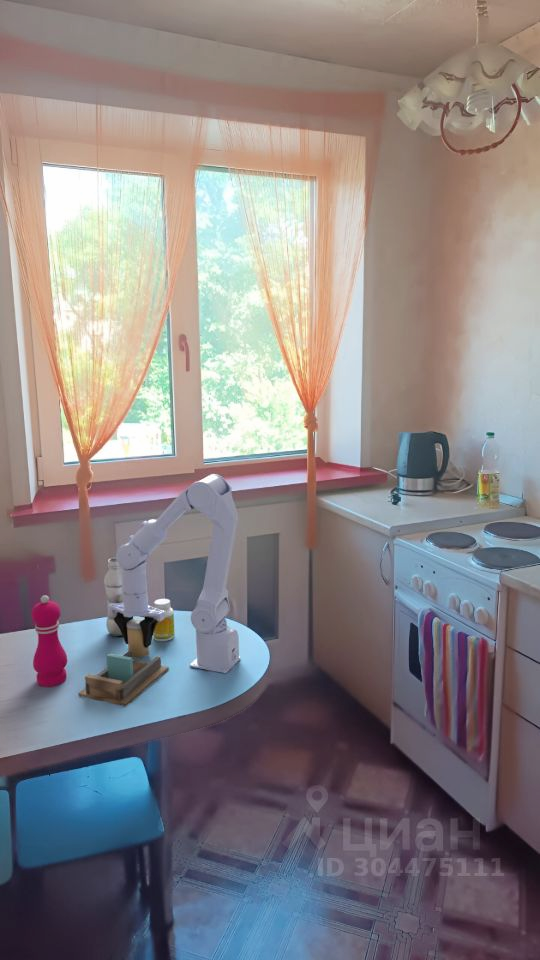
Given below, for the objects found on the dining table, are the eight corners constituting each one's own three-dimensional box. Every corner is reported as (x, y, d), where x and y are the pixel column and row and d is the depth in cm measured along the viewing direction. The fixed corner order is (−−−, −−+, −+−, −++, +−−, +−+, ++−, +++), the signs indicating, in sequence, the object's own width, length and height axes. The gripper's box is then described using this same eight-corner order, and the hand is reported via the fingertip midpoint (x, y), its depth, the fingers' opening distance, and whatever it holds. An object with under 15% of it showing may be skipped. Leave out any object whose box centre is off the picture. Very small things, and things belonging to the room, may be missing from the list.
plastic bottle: (123, 626, 173) (119, 554, 169) (137, 633, 168) (133, 559, 164) (102, 633, 169) (97, 560, 165) (116, 641, 164) (111, 565, 160)
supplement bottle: (172, 641, 163) (171, 605, 161) (151, 642, 163) (149, 605, 161) (176, 632, 168) (174, 597, 167) (155, 632, 169) (153, 597, 167)
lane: (168, 669, 149) (167, 651, 148) (125, 706, 134) (124, 686, 133) (124, 660, 153) (123, 643, 153) (78, 695, 138) (76, 676, 137)
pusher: (133, 683, 141) (132, 657, 140) (131, 685, 140) (129, 659, 139) (111, 678, 144) (109, 653, 142) (108, 680, 143) (106, 655, 141)
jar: (153, 650, 158) (151, 619, 157) (142, 659, 154) (140, 628, 152) (135, 647, 160) (134, 617, 159) (124, 656, 156) (122, 625, 154)
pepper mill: (75, 674, 147) (68, 591, 143) (55, 690, 140) (47, 603, 136) (48, 670, 149) (41, 588, 146) (27, 685, 143) (19, 599, 139)
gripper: (99, 592, 153) (103, 646, 156) (152, 600, 148) (155, 655, 150) (117, 582, 159) (120, 634, 162) (168, 590, 154) (170, 643, 157)
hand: (138, 644), depth 157 cm, fingers closed on jar, 5 cm apart
